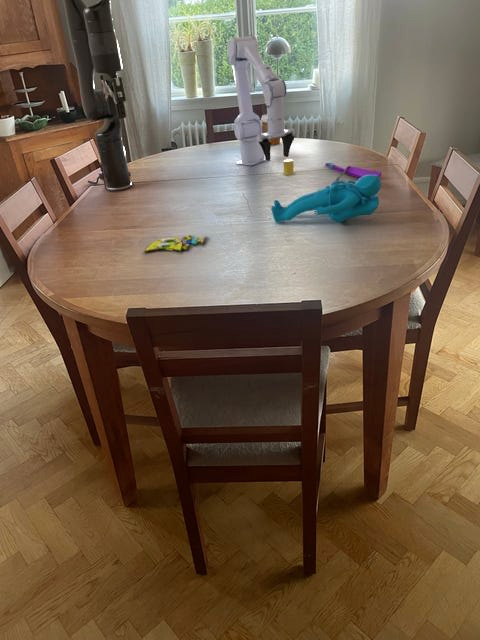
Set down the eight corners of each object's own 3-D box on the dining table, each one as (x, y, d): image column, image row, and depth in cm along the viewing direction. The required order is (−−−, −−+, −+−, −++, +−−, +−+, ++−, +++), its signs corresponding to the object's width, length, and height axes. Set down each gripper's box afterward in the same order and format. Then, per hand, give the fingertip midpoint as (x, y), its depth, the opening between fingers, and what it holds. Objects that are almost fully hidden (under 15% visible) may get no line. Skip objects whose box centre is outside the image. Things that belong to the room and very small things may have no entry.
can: (295, 173, 177) (295, 160, 174) (287, 175, 176) (287, 162, 173) (290, 171, 180) (289, 158, 177) (281, 173, 178) (281, 160, 176)
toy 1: (199, 248, 125) (143, 249, 127) (199, 251, 125) (144, 252, 127) (206, 233, 133) (154, 234, 135) (206, 236, 133) (154, 237, 136)
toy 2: (275, 189, 144) (378, 163, 133) (284, 222, 149) (384, 199, 138) (266, 210, 130) (379, 182, 120) (276, 245, 135) (386, 221, 125)
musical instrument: (369, 191, 157) (389, 166, 169) (368, 185, 155) (389, 160, 168) (302, 188, 169) (326, 165, 182) (302, 182, 168) (325, 160, 180)
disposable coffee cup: (259, 145, 216) (257, 117, 209) (266, 140, 223) (265, 113, 216) (279, 146, 212) (278, 117, 206) (286, 140, 220) (285, 112, 213)
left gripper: (126, 51, 125) (138, 117, 134) (111, 49, 135) (123, 111, 144) (98, 54, 122) (112, 121, 131) (85, 52, 133) (98, 115, 142)
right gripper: (263, 123, 161) (265, 164, 169) (299, 116, 167) (299, 156, 174) (253, 120, 167) (255, 160, 174) (288, 114, 172) (289, 153, 179)
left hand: (118, 116), depth 138 cm, fingers open, 8 cm apart
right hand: (277, 158), depth 174 cm, fingers open, 7 cm apart
